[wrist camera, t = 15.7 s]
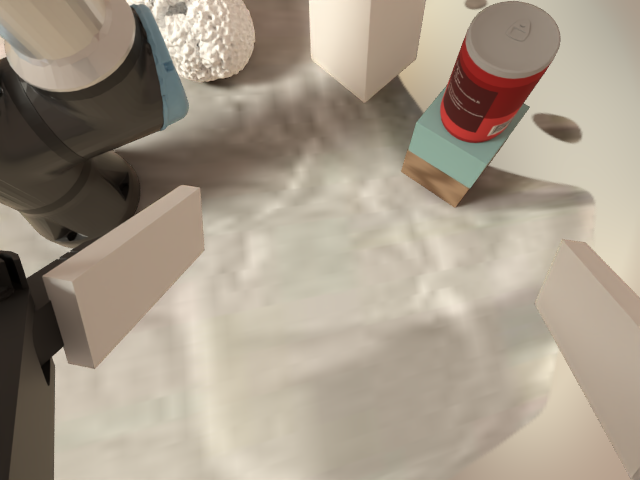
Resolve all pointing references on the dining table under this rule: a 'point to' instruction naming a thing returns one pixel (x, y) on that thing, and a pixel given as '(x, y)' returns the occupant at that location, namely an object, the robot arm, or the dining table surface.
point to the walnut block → (435, 179)
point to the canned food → (497, 69)
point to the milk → (365, 40)
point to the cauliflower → (204, 35)
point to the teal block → (455, 145)
